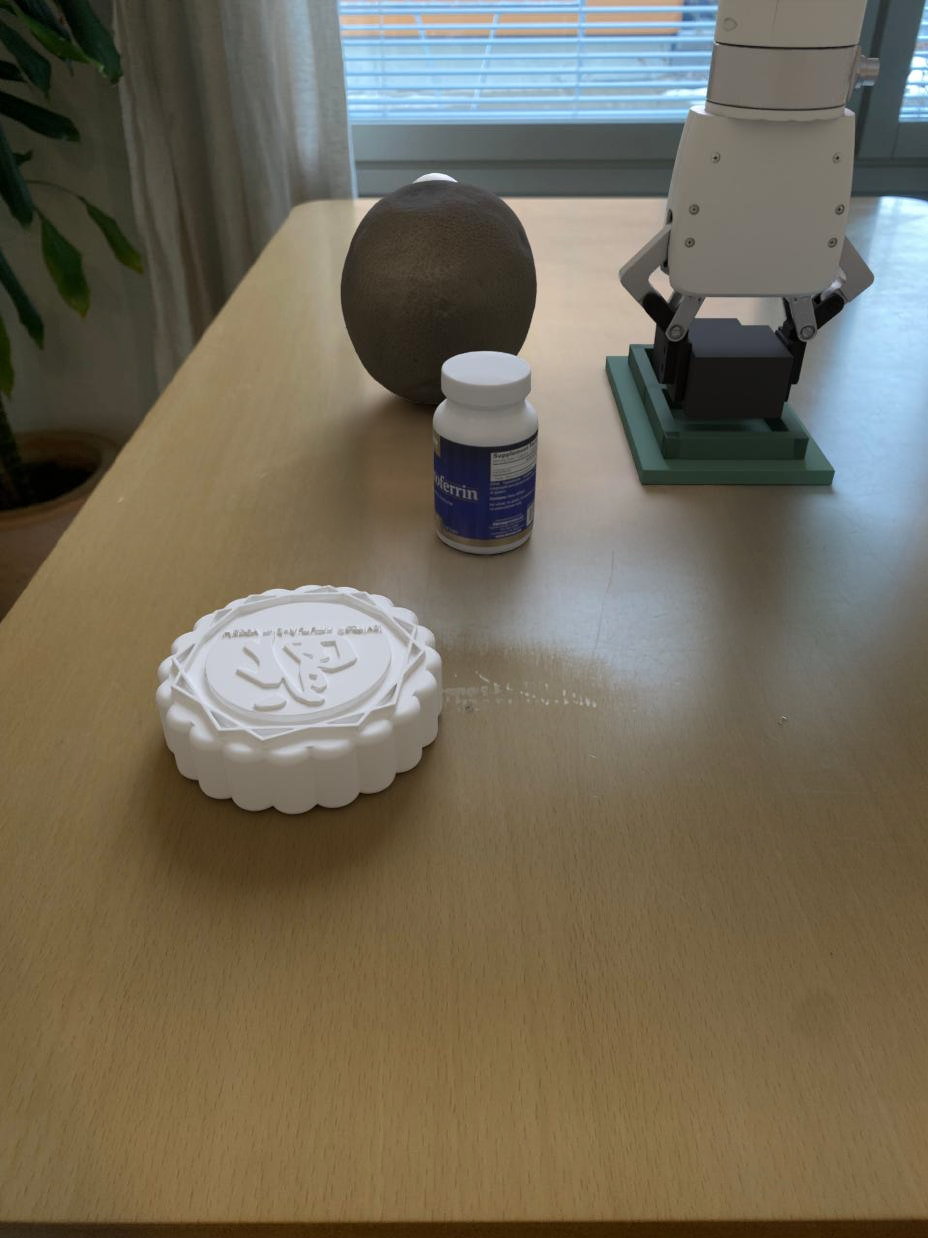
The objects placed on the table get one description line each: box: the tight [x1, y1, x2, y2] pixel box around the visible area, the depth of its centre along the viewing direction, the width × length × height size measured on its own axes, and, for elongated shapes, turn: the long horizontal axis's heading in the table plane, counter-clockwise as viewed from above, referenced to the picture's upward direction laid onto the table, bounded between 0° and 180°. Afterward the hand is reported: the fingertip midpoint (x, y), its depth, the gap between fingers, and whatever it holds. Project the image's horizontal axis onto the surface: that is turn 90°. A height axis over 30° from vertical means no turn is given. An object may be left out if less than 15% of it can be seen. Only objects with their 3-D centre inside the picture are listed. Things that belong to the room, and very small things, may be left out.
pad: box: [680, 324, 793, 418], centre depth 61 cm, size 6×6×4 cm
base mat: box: [604, 343, 836, 485], centre depth 67 cm, size 12×20×2 cm, turn 0°
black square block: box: [651, 317, 742, 384], centre depth 69 cm, size 6×6×4 cm
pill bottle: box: [432, 351, 539, 555], centre depth 52 cm, size 6×6×10 cm
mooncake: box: [155, 584, 443, 815], centre depth 41 cm, size 12×12×4 cm
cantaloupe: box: [340, 180, 538, 405], centre depth 66 cm, size 14×14×15 cm
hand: (725, 391), depth 62 cm, fingers closed on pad, 6 cm apart
